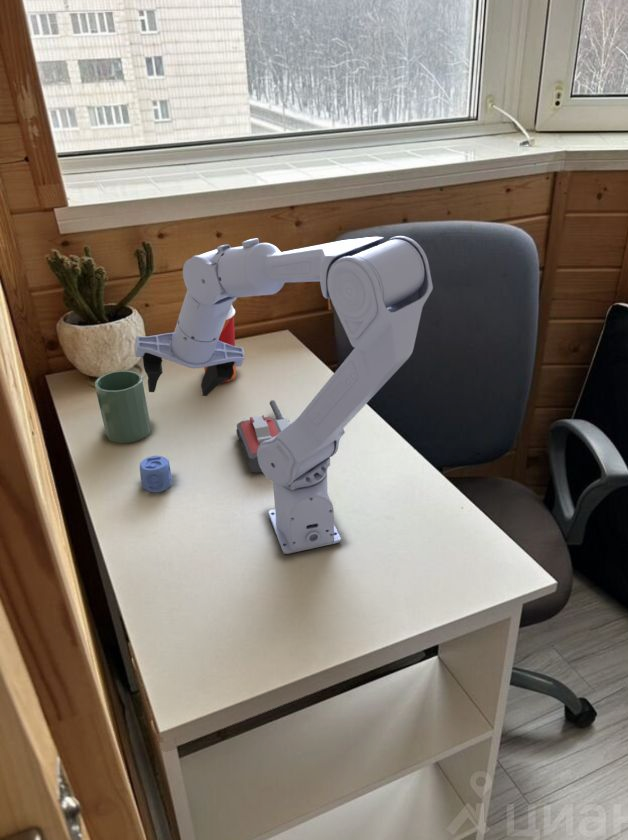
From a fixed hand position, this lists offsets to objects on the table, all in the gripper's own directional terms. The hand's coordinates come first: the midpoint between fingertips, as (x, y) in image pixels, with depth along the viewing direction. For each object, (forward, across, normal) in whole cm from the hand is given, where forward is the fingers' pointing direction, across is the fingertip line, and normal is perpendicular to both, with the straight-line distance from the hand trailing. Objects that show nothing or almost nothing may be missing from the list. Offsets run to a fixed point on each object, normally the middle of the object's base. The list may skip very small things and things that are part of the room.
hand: (177, 388), depth 105 cm
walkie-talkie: (+10, -16, +2) cm, 19 cm away
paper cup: (+21, -15, -20) cm, 33 cm away
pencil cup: (+19, +4, -6) cm, 20 cm away
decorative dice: (+11, +1, +10) cm, 15 cm away
